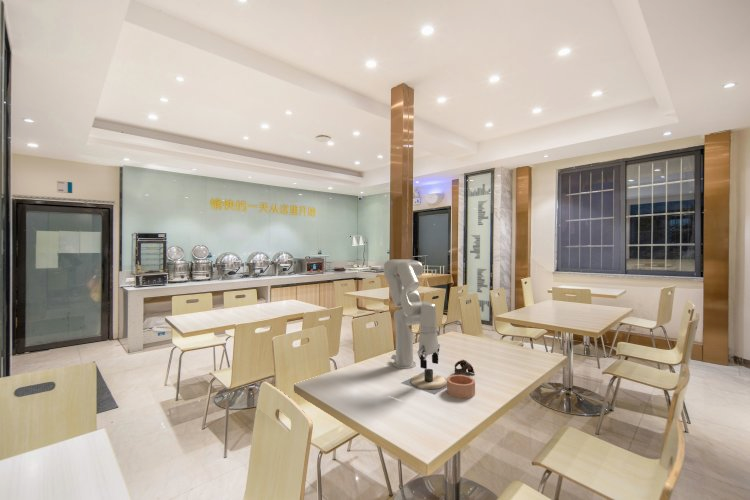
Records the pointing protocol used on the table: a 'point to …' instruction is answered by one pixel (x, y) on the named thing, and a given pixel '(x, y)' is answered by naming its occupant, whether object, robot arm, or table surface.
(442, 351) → the table surface
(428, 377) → the lid
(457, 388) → the bowl
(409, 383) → the mat
